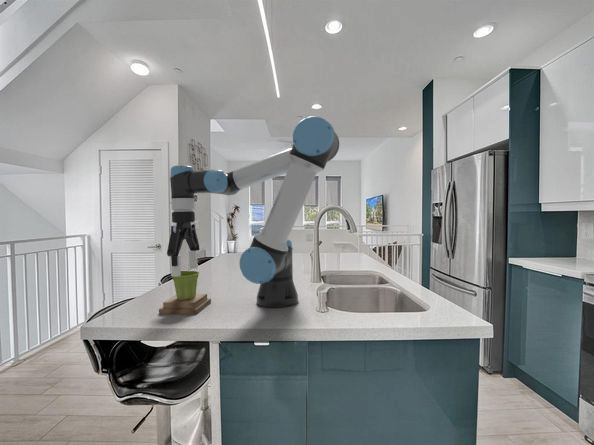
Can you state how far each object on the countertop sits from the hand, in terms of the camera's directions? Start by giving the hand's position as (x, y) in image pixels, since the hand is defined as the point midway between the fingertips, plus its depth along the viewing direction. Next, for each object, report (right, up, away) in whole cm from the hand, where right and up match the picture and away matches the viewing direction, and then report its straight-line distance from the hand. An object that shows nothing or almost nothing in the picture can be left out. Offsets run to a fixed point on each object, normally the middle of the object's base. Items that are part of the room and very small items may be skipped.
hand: (185, 272), depth 110 cm
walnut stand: (0, -13, 0) cm, 13 cm away
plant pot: (0, -9, 0) cm, 9 cm away
